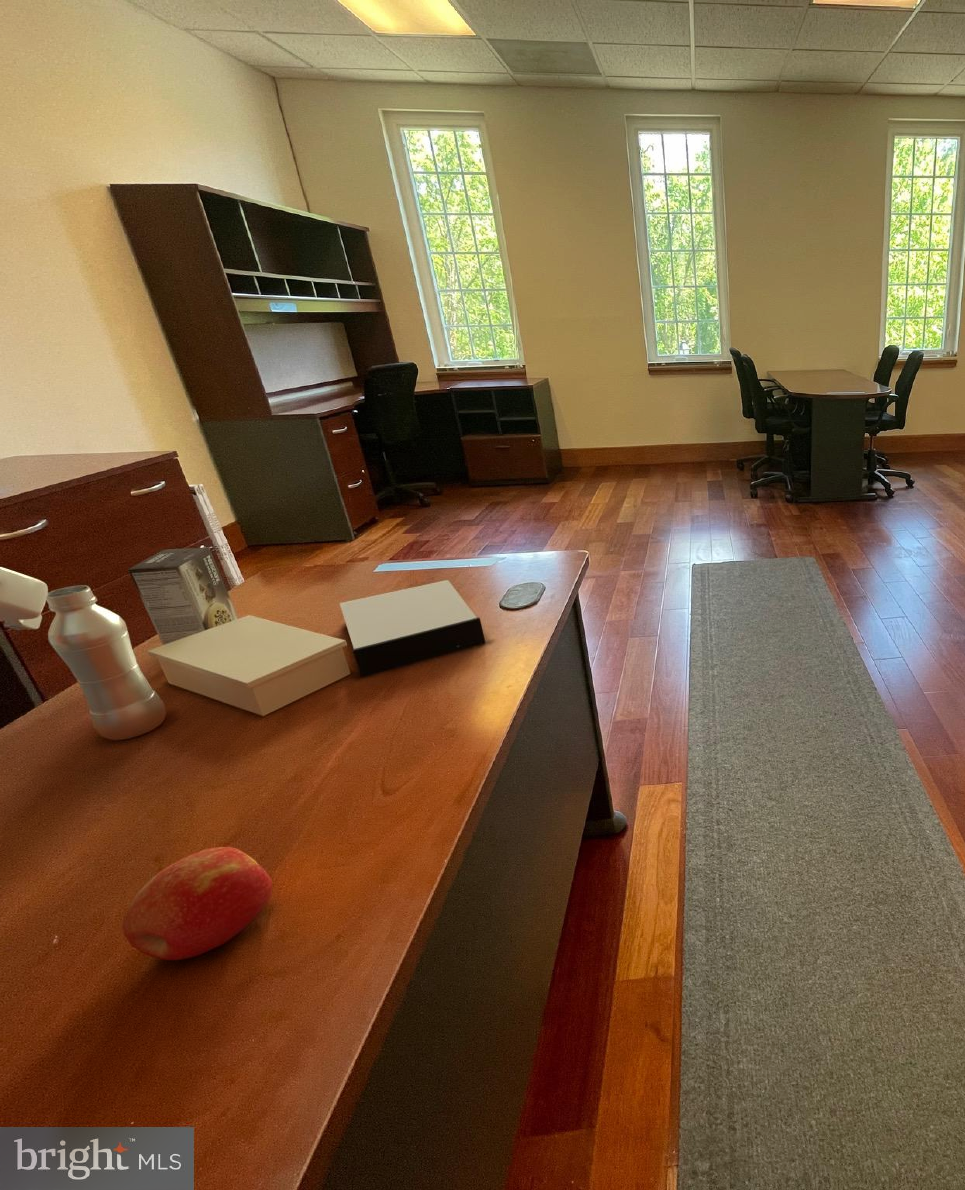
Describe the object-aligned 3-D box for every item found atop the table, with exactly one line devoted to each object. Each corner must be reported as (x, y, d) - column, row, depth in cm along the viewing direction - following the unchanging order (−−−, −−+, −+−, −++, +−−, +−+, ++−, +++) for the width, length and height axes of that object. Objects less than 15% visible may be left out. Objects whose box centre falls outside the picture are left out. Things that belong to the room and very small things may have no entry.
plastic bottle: (88, 750, 76) (6, 605, 68) (126, 720, 82) (55, 583, 74) (151, 742, 78) (79, 599, 70) (184, 713, 84) (120, 578, 76)
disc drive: (361, 679, 92) (352, 650, 90) (345, 627, 108) (337, 601, 106) (486, 645, 102) (480, 618, 100) (454, 602, 118) (448, 578, 116)
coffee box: (200, 638, 103) (162, 549, 97) (246, 633, 105) (211, 545, 99) (168, 664, 95) (124, 568, 89) (218, 658, 97) (178, 564, 91)
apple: (297, 913, 55) (267, 848, 52) (182, 998, 48) (140, 928, 45) (245, 883, 58) (214, 819, 55) (130, 960, 51) (86, 891, 48)
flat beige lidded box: (163, 686, 90) (146, 650, 87) (261, 647, 101) (249, 614, 98) (262, 721, 82) (246, 683, 80) (356, 675, 93) (345, 640, 91)
